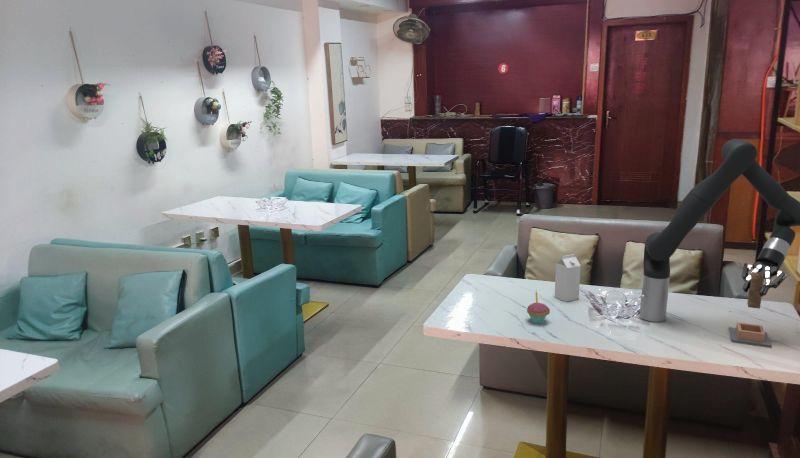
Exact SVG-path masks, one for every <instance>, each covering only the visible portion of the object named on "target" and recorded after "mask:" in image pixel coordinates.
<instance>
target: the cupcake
mask: <svg viewBox="0 0 800 458" xmlns="http://www.w3.org/2000/svg"><path fill="white" fill-rule="evenodd" d="M526 312H527V314H528V315H529V317H530V321H531V323H534V324H544V322H545V319H546V317H547V316H548V315H550V313H551V311H550V307H549V306H548V305H546V304H544V303H540V302H539V299H538V292H537V290H535V302H533V303H531V304H529V305H527V309H526Z"/></svg>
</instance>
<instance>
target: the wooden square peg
mask: <svg viewBox="0 0 800 458" xmlns="http://www.w3.org/2000/svg"><path fill="white" fill-rule="evenodd" d="M750 273H751V280H750V288H749V289H748V294H747V296H748V297H747V307H748V308H749V309H751V308H752V309H758V310H759V309H761V302H762V296H760V294H759V293H760V291H761V289H762V287H763V285H764V283H765V282H764V281H765V279H764V273H761V272H752V271H751V272H750Z"/></svg>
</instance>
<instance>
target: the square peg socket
mask: <svg viewBox="0 0 800 458" xmlns="http://www.w3.org/2000/svg"><path fill="white" fill-rule="evenodd" d="M728 332H729V337H730V342H731V343H737V344H742V345H743V344H744V345H751V346H757V347H758V346H759V347H764V348H765V347H766V348H772V343H771V340H770V337H769V334H768V332H767V331H765V330H764V326H763V325H761V324H753V323H745V322H739V321H737V322H736V323H735V327H730V326H729V327H728Z"/></svg>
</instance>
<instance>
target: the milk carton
mask: <svg viewBox="0 0 800 458" xmlns="http://www.w3.org/2000/svg"><path fill="white" fill-rule="evenodd" d="M555 263H556V264H555V279H554V281H555V282H554V297H555V298H557V299H558V300H561V301H563V302H565V303H567V302H572V301H577V300H579V297H580V287H581V286H580V283H581V267H582V266H581V264H580V262H579V260H578V258H577V254H576V253H574V254H573V253H572V254H567V255H563V256H561V258H560V260H558V261H557V262H555Z"/></svg>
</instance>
